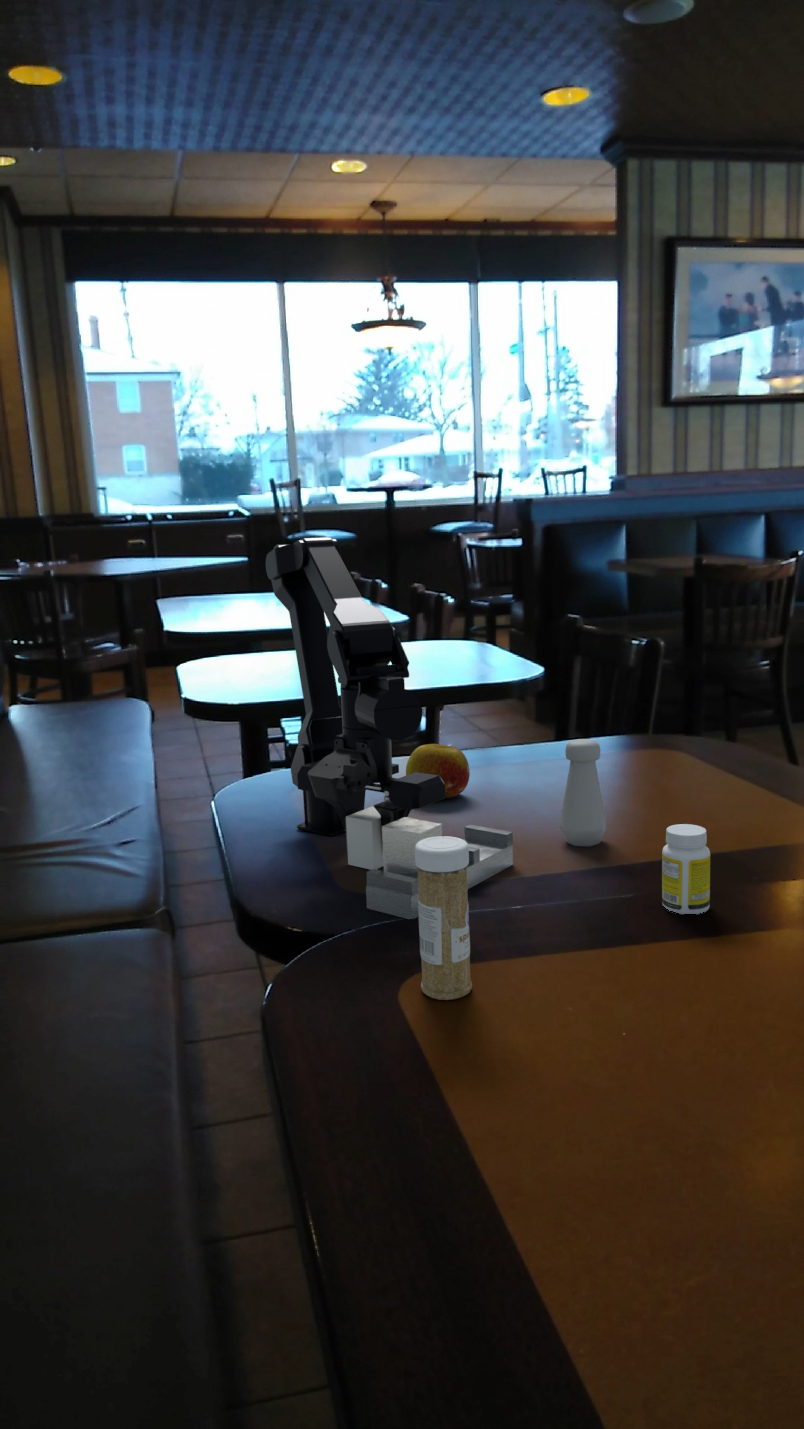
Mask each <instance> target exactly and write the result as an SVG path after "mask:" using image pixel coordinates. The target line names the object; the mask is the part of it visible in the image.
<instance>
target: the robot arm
mask: <svg viewBox="0 0 804 1429" xmlns="http://www.w3.org/2000/svg"><path fill="white" fill-rule="evenodd" d="M344 562H345V561H343V559H342V557H341V554H340V546H339V544H338V541H337V539H336V538H332V537H330V536H326V537H325V536H324V537H323V536H322V537H320V536H319V537H302V538H301V539H300V540H296V541H294V542H293V543H290V544H276V545H274V547H273V549H272V550H270V551H269V552H268V553H267V554H266V558H265V571H266V575H267V578H268V580H271V586H272V589H273V594H274V596H275V597H276V598H277V600H278V601H280V603H281V604H282V605H283V607H284V608H285V609H286V610H287V611H288V614H289V619H290V623H291V625H290V626H291V631H292V636H293V637H292V638H293V644H294V649H295V656H296V661H297V662H296V663H297V666H298V667H297V668H298V672H299V674H298V675H299V680H300V685H301V690H302V691H301V692H302V698H303V703H304V711H305V717H304V719H303V721H302V724H301V727H300V729H299V731H298V734H297V744H298V745H297V746H296V750H295V752H294V756H293V759H292V763H291V765H290V774H291V778H292V779H291V780H292V784H293V785H294V786H296V788H297V789H298V790H301V791H302V797H303V799H302V800H303V814H304V816H303V817H304V822H302V823H299V824H297V825H296V829H297V828H298V830H300V829H301V831H305V830H306V831H307V832H310V833H311V832H312V833H315V834H320V835H325V836H331V837H332V836H336V835H338V834H341V833H343V832H345V833H346V829H345V819H346V816H348V815H351V814H354V813H356V812H359V811H362V810H364V809H365V805H366V804H365V803H366V791H370V792H371V791H373V792H377V793H384V797H383V800H384V801H382V802H379V803H376V804H373V807H374V808H375V809H376V810H377V812H378V813H379V814H380V816H381V831H382V826H384V825H386V824H389V823H391V822H394V821H396V820H399V819H401V818H404V817H407V818H409V815H410V813H411V811H412V810H420V809H422V808H424V807H427V806H430V805H433V804H435V803H438V802H439V801H442V800H445V799H446V798H445V784H444V781H443V780H442V779H441V777H440V776H439V775H432V774H426V773H419V772H415V773H412V774H409V775H406V774H405V775H404V776H401V777H399V778H396V777H393V775H395V774H399V773H400V766H399V765H400V764H398V763H393V758H392V757H393V756H392V754H393V752H392V742H394V741H402V740H405V739H408V738H409V737H411V736H412V735H414V733H415V732H416V731H417V730H418V729H419V727H420V725H421V722H422V719H423V707H422V706H421V703H420V700H419V699H418V697H417V696H416V695H415V694H414V692H412V691H410V690H409V689H406V688H405V684H406V683H405V679H408V678H409V677H410V672H409V669H408V667H409V665H410V661H409V659H408V657H407V654H406V652H405V649H404V646H403V645H402V642H401V640H400V637H399V636H398V633H397V630H396V629H395V627H394V626H393V625H392V623H391V622H390V620H389V619H388V618H387V616H386V615H385V614H384V612H383V611H382V610H381V609H380V608H379V607H376V606H375V605H372V604H370V603H367V602H366V601H365V600H364V598H363V597H362V595H361V592H360V591H359V589H358V587H357V585H356V583H355V582H354V580H353V578H352V576H351V574H350V571H349V570H348V569H347V567H346V565H345V563H344ZM326 619H327V620H328V621H327V622H328V624H329V630H328V629H327V622H326ZM390 663H391V664H390ZM335 672H336V674H337V676H338V677H337V681H336V674H335ZM337 682H338V683H339V684H340V690H339V691H340V696H339V693H338V686H337ZM339 697H340V699H339ZM306 831H305V832H306ZM382 846H383V841H382Z"/></svg>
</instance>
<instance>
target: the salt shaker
mask: <svg viewBox="0 0 804 1429" xmlns="http://www.w3.org/2000/svg"><path fill="white" fill-rule="evenodd" d="M564 751H565V753H564V754H565V758H566V759H567V760H568V761H569V768H568V774H567V779H566V784H565V785H566V786H565V792H564V797H563V803H562V810H561V815H560V819H559V820H560V821H559V826H560V830H561V832H562V835H563V836H564V840H565V842H566V843H567V844H570V845H572V846H573V847H592V846H596V845H598V844H601V841H602V839H603V837H604V834H605V832H606V830H607V819H606V818H607V817H606V813H605V810H604V808H605V807H604V803H603V798H602V792H601V786H600V780H599V775H598V769H597V764H596V761H598V760H600V758H601V745H600V743H599V742H597V741H596V740H594V739H589V738H578V739H572V740H570V741H568V742H567V743H566V746H565V750H564Z"/></svg>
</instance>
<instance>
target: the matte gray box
mask: <svg viewBox="0 0 804 1429" xmlns="http://www.w3.org/2000/svg"><path fill="white" fill-rule="evenodd" d="M345 829H346V832H345V844H346V845H345V846H346V852H347V864H348V865H349V866H353V867H356V868H357V867H358V868H361V869H362V868H363V869H366V870H369V871H370V870H372V869H377V870H379V869H380V868H382V867H383V868H384V864H383V846H382V831H381V816H380V814H379V813H378V812H377V810H376V809H375V808H374V805H373V806H369V807H367V808H364V810H362V811H359V812H356V813H354V814H351V815H348V816H346V819H345Z"/></svg>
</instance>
